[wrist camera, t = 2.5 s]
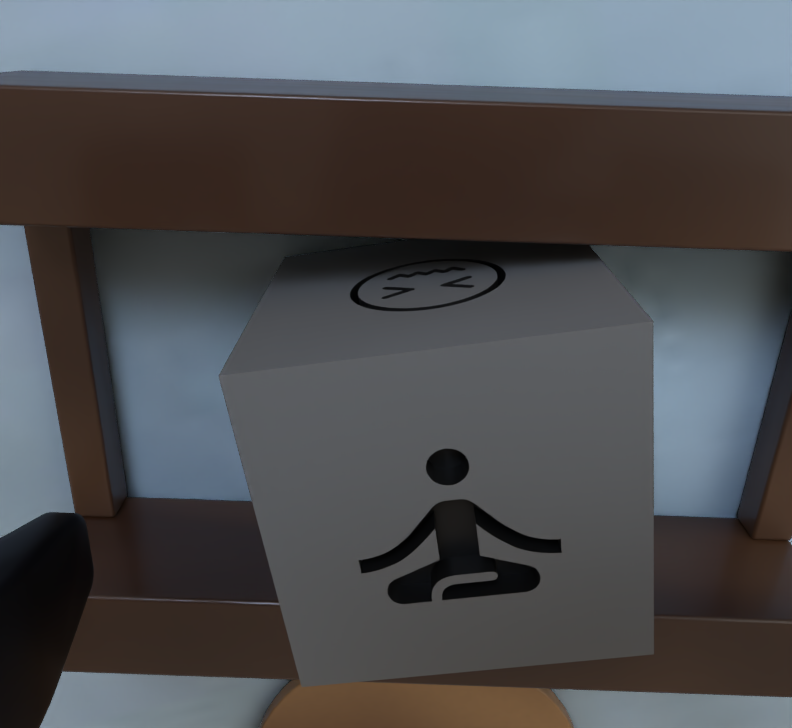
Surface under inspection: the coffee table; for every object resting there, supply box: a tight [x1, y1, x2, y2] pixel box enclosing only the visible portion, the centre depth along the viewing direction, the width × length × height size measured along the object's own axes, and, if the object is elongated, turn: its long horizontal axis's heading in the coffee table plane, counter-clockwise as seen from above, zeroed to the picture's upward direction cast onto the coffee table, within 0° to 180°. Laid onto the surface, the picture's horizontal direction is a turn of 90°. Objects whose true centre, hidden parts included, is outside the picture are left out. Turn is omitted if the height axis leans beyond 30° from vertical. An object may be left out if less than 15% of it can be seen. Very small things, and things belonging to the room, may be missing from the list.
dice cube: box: [219, 239, 654, 687], centre depth 12 cm, size 5×5×5 cm
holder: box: [0, 71, 792, 697], centre depth 13 cm, size 10×14×3 cm
